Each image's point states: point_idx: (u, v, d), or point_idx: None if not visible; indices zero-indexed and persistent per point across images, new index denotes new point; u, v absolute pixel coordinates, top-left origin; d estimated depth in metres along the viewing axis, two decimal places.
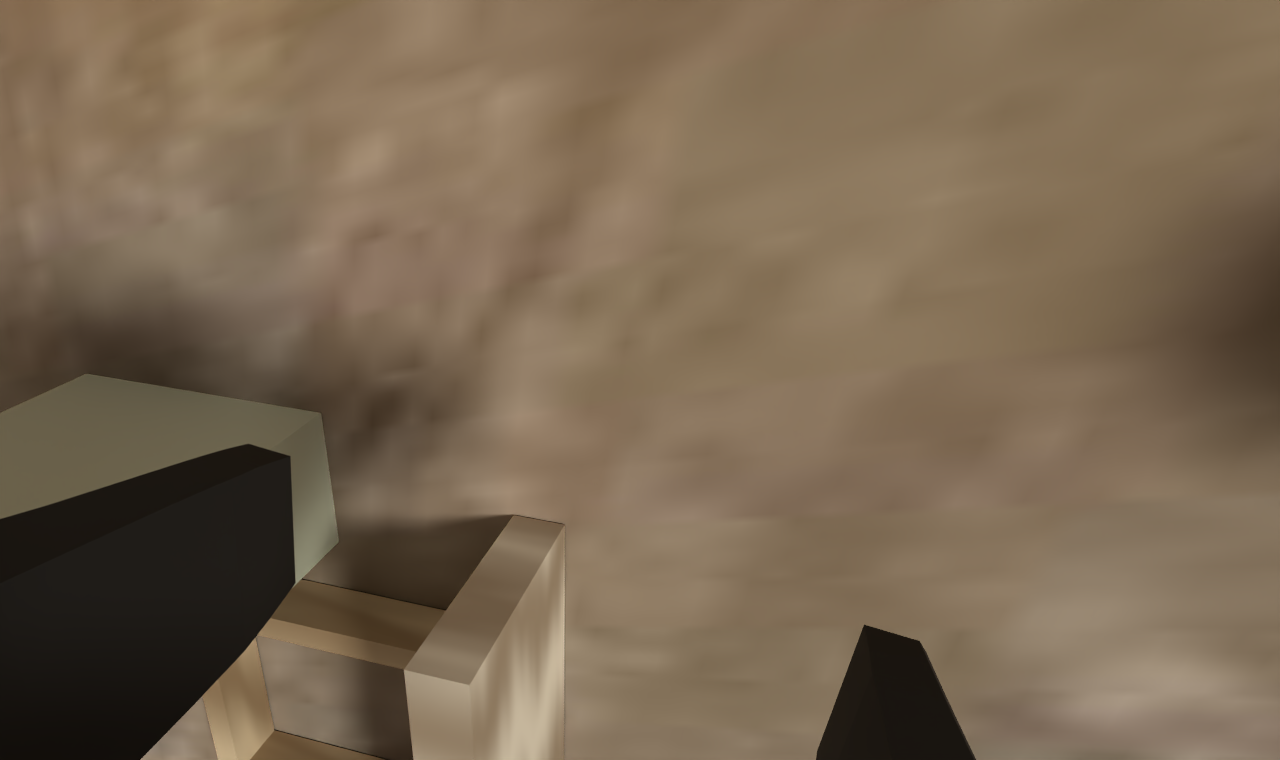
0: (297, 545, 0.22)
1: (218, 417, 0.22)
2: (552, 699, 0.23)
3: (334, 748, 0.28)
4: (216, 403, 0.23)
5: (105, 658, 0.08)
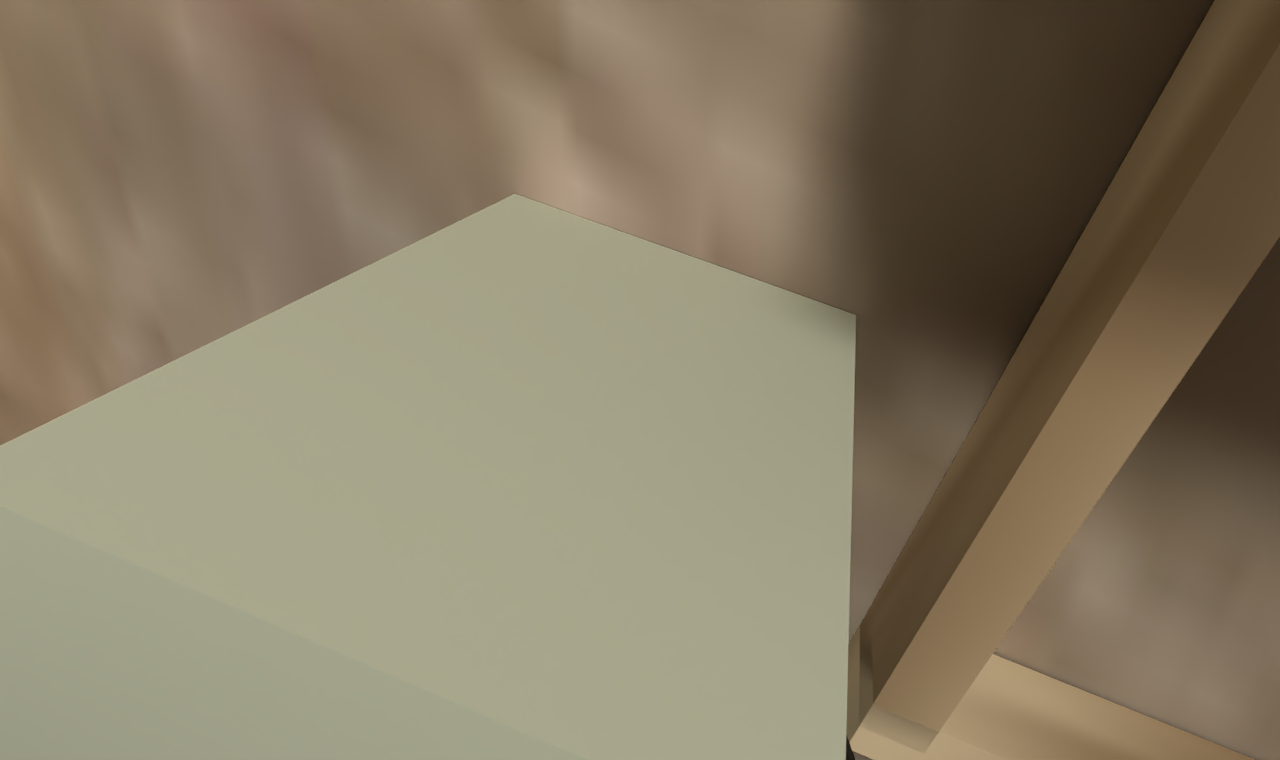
0: (747, 336, 0.08)
1: None
2: None
3: None
4: None
5: None
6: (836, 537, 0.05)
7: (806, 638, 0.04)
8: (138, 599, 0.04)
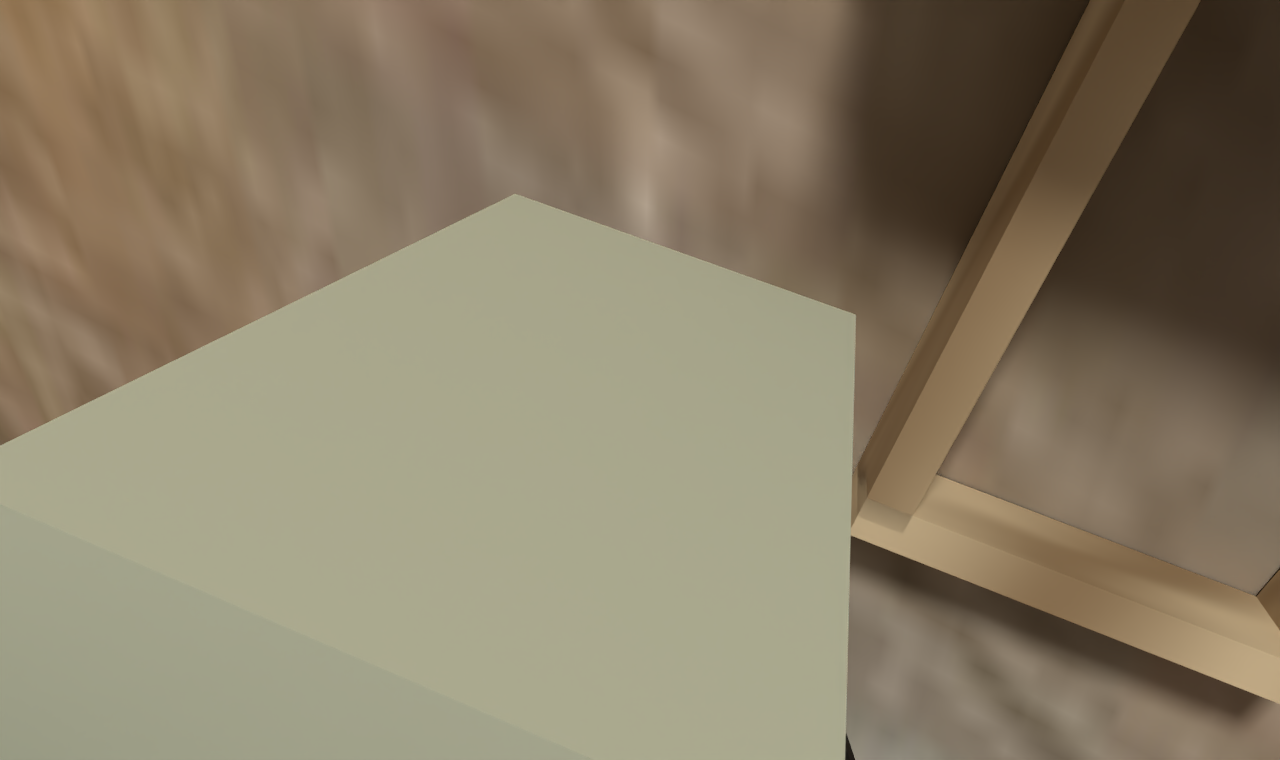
0: (747, 336, 0.08)
1: None
2: None
3: None
4: None
5: None
6: (836, 536, 0.05)
7: (806, 637, 0.04)
8: (142, 598, 0.04)
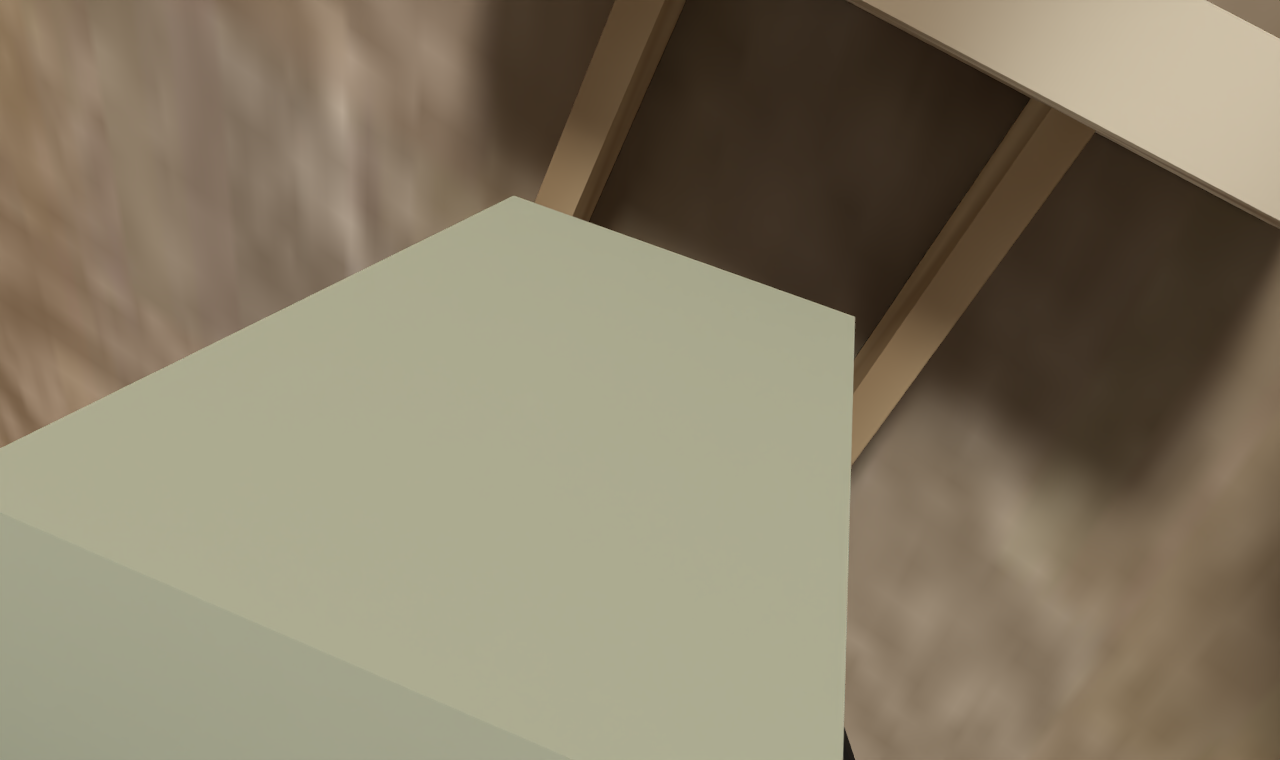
0: (746, 338, 0.08)
1: None
2: None
3: None
4: None
5: None
6: (834, 540, 0.05)
7: (804, 642, 0.04)
8: (137, 605, 0.04)
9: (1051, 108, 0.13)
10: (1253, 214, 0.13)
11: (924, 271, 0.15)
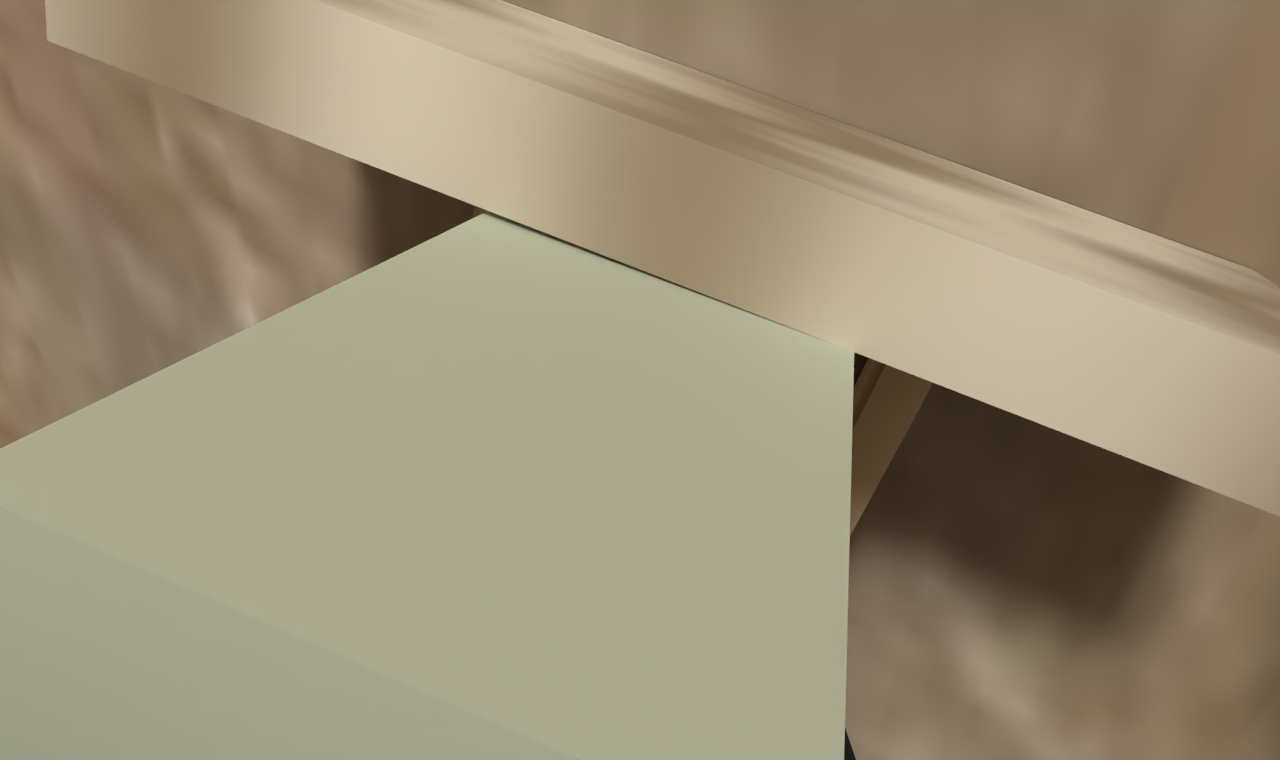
0: (746, 341, 0.08)
1: None
2: (617, 50, 0.13)
3: None
4: None
5: None
6: (835, 542, 0.05)
7: (805, 643, 0.04)
8: (142, 601, 0.04)
9: None
10: None
11: None
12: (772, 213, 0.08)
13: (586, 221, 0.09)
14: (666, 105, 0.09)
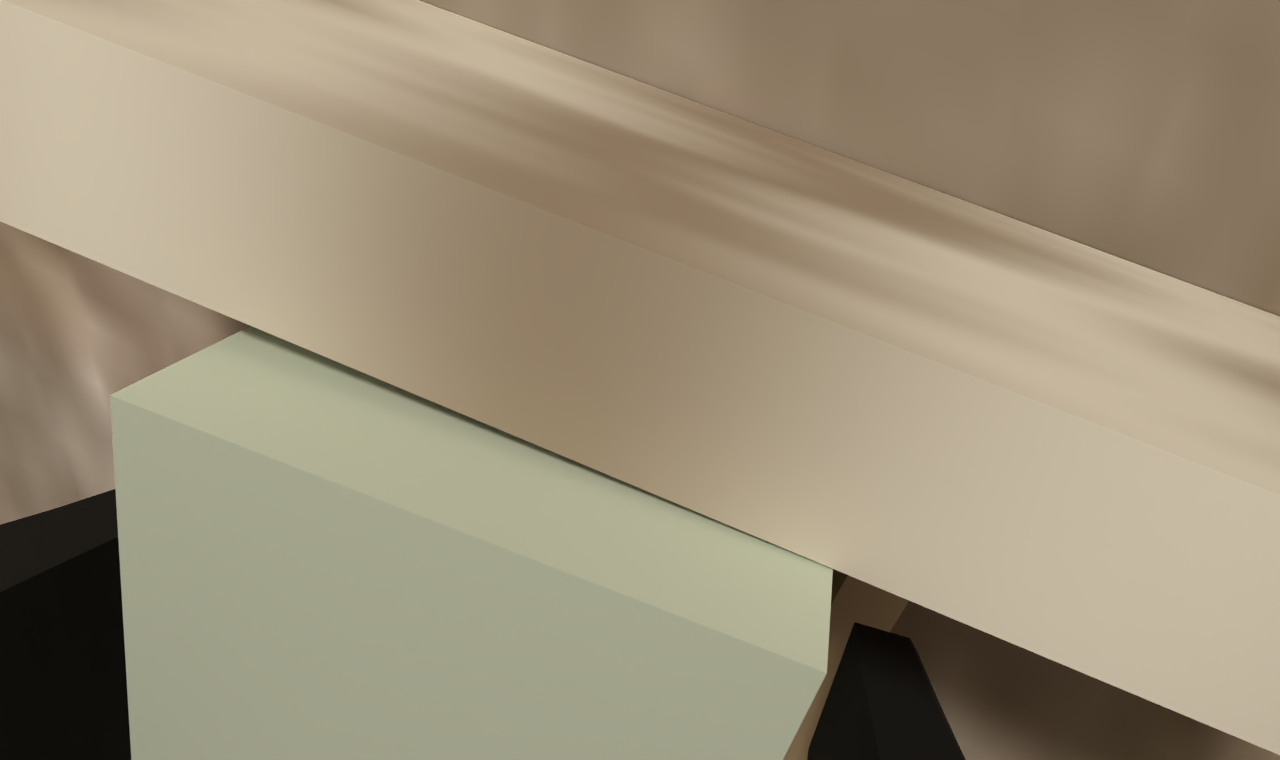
0: None
1: None
2: (524, 53, 0.09)
3: None
4: None
5: (114, 661, 0.08)
6: None
7: None
8: (272, 488, 0.05)
9: None
10: None
11: None
12: (707, 347, 0.05)
13: (400, 346, 0.05)
14: (550, 145, 0.06)
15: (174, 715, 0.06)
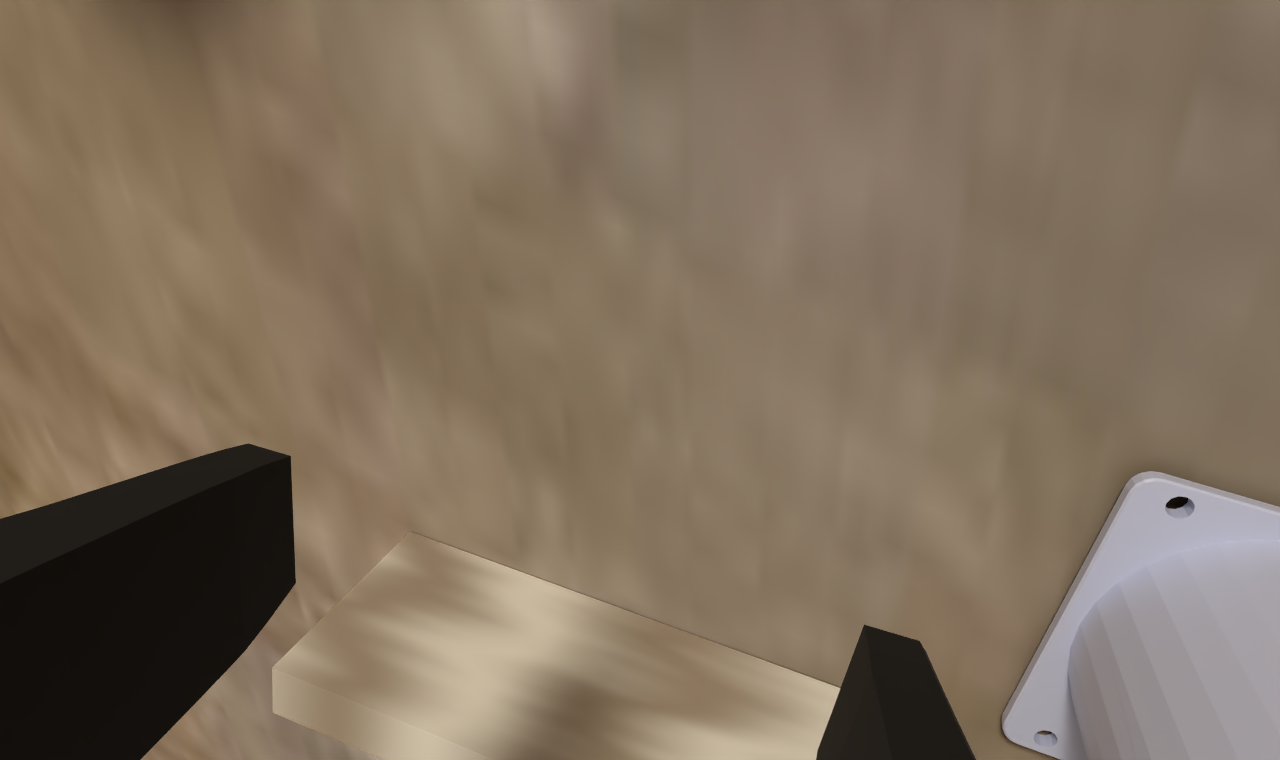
0: None
1: None
2: (562, 614, 0.22)
3: None
4: None
5: (105, 658, 0.08)
6: None
7: None
8: None
9: None
10: None
11: None
12: None
13: None
14: (571, 734, 0.19)
15: None
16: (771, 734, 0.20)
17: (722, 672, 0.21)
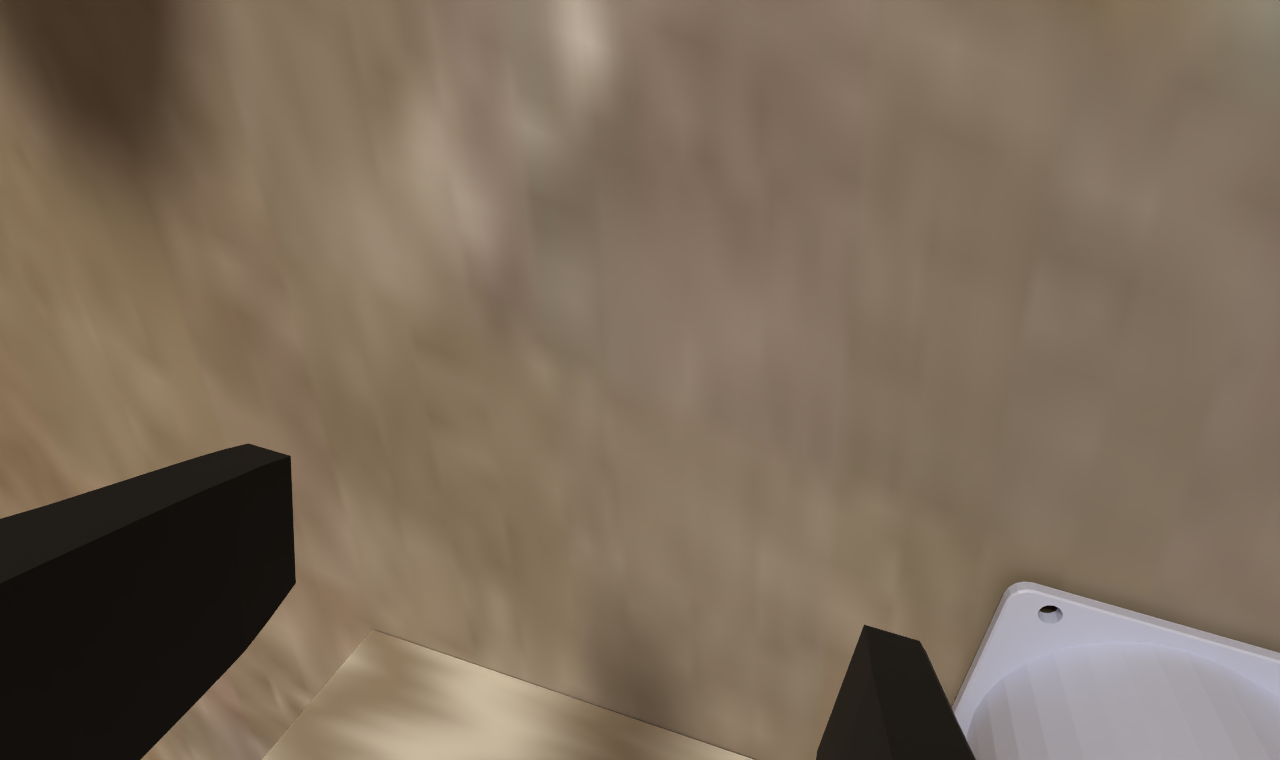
0: None
1: None
2: (514, 706, 0.24)
3: None
4: None
5: (105, 658, 0.08)
6: None
7: None
8: None
9: None
10: None
11: None
12: None
13: None
14: None
15: None
16: None
17: (662, 757, 0.23)
